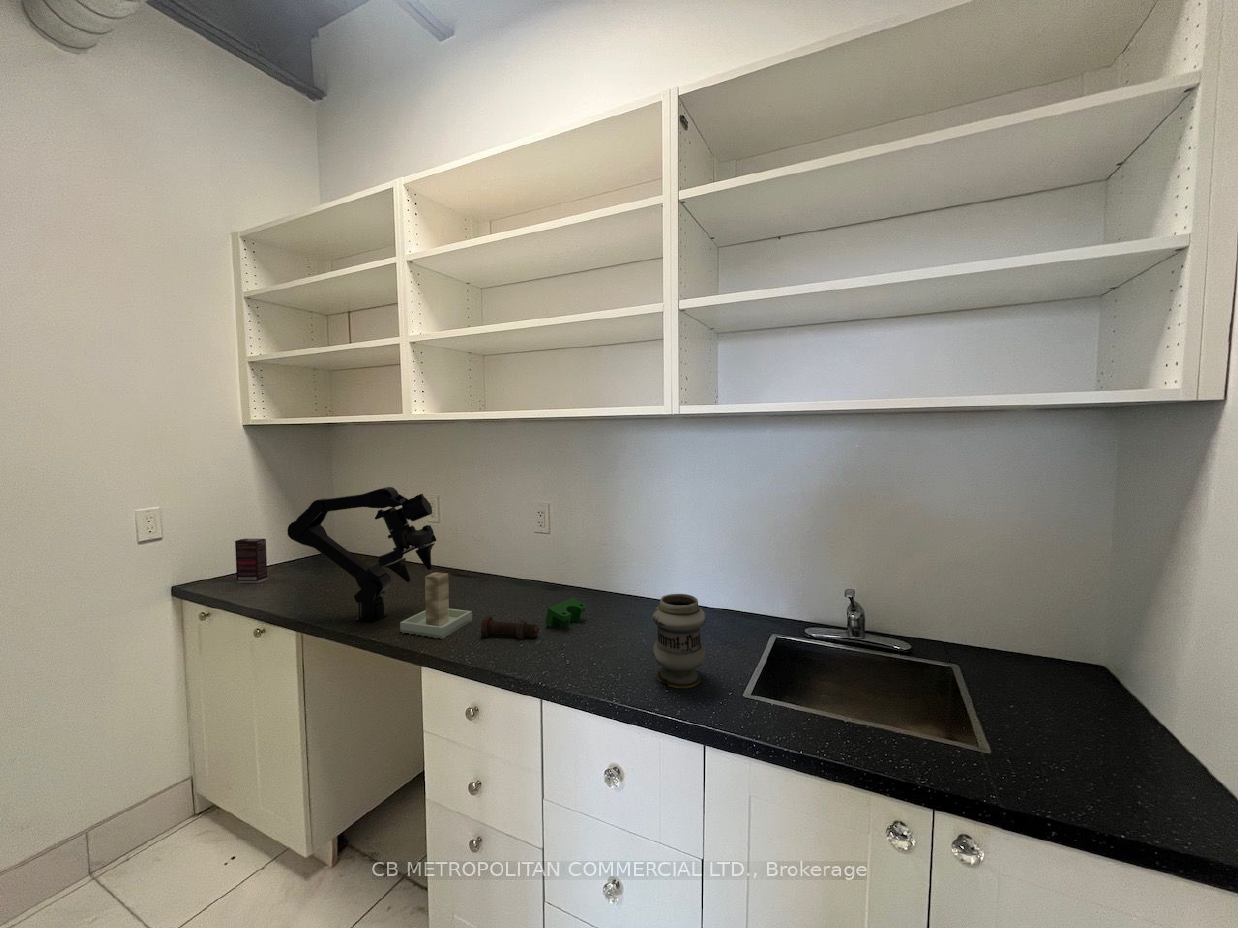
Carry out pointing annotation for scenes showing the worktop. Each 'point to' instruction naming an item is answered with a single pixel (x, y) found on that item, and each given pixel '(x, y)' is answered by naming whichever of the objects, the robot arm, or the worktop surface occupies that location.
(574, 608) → the clamp
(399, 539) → the robot arm
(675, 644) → the apothecary jar
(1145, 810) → the worktop surface
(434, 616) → the maple block
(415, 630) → the tray
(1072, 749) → the worktop surface
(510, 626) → the bolt
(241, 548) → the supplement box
